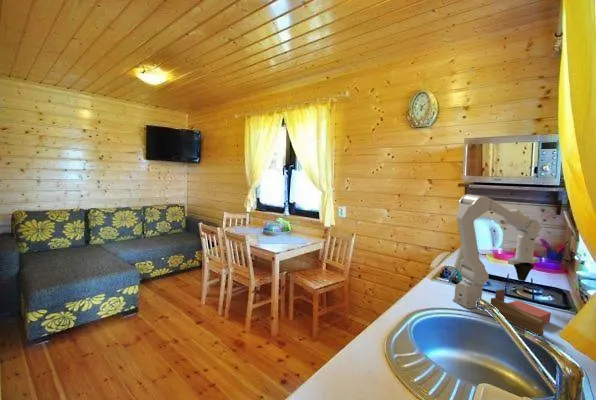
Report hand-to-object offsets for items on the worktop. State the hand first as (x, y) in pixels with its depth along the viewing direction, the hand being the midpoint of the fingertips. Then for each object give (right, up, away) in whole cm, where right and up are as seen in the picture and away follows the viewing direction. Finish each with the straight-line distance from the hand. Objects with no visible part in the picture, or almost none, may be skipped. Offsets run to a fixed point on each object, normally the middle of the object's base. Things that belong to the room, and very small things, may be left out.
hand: (521, 280), depth 123 cm
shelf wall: (-14, -11, -15) cm, 24 cm away
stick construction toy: (-13, -7, +23) cm, 27 cm away
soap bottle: (0, -5, +39) cm, 40 cm away
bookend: (-14, -10, -6) cm, 18 cm away
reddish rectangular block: (-7, -11, -12) cm, 18 cm away
